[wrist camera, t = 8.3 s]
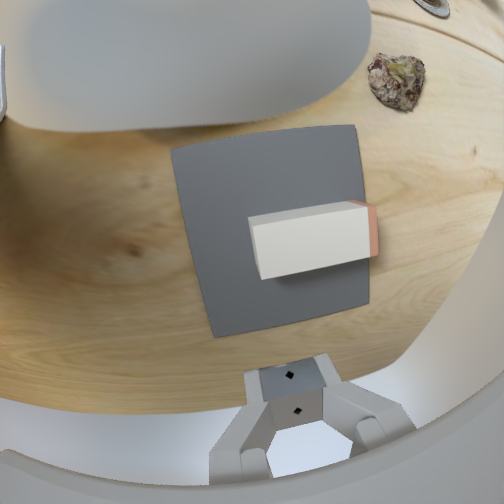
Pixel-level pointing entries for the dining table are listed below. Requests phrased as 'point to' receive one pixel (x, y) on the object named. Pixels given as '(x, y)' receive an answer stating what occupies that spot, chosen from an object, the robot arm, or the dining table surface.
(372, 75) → the mineral rock
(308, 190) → the rubber mat
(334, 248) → the cream block
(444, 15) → the pastry
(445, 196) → the dining table surface
